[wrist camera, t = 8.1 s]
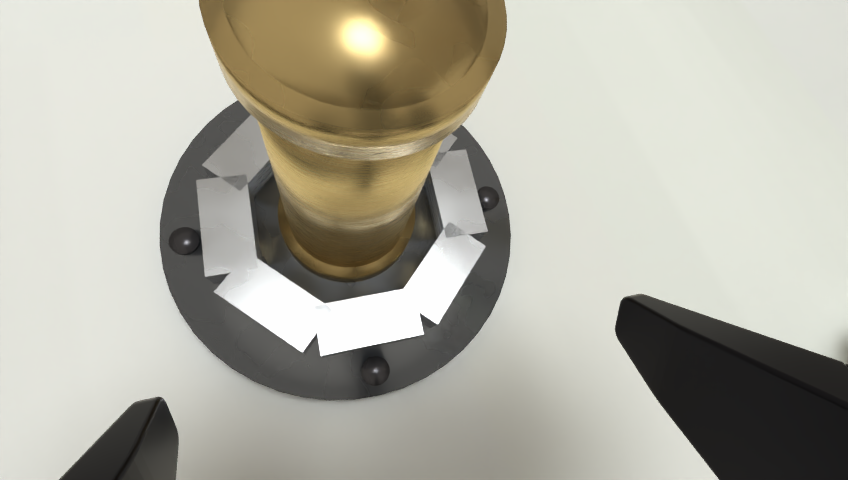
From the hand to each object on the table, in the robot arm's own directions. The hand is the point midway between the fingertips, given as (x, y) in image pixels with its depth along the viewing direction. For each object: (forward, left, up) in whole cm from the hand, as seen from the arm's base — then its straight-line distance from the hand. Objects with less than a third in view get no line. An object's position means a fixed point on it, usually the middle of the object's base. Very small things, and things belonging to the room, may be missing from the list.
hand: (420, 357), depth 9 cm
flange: (+6, +4, -12) cm, 14 cm away
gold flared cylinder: (+6, +4, -11) cm, 13 cm away
